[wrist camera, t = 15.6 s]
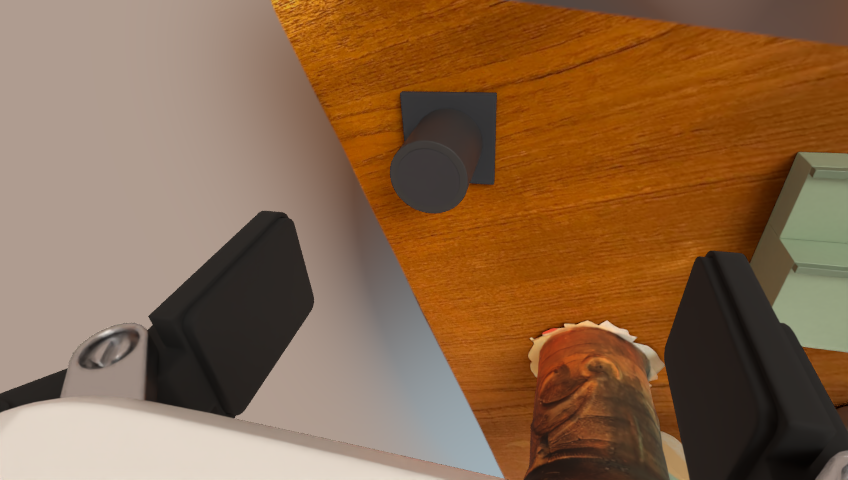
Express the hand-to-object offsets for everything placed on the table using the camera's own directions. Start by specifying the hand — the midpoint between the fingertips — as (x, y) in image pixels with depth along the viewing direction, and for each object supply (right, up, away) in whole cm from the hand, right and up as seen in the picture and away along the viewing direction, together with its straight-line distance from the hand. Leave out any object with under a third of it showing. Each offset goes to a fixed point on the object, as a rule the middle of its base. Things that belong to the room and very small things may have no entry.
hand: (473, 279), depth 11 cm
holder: (+1, +9, +28) cm, 30 cm away
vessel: (+17, -12, +39) cm, 44 cm away
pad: (+1, +10, +29) cm, 30 cm away
